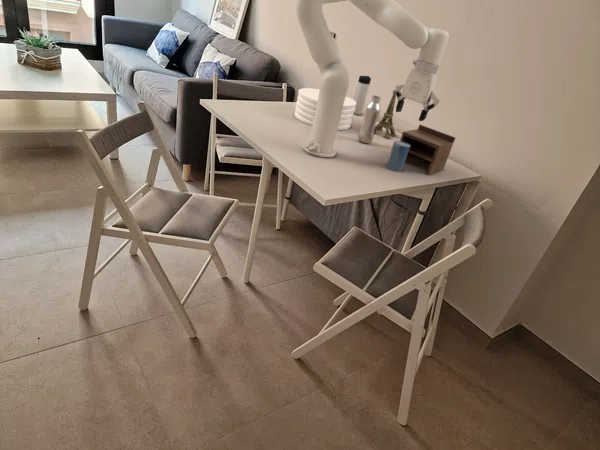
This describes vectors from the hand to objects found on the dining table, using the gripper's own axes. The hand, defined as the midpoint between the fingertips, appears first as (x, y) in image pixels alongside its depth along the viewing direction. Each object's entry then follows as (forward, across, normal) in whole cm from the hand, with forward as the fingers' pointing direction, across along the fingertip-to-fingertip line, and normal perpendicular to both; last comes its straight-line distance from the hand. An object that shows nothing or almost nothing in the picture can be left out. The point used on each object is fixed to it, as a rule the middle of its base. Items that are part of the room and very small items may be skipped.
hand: (409, 116), depth 153 cm
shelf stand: (+20, +4, +16) cm, 26 cm away
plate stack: (+21, -52, +21) cm, 60 cm away
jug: (+20, +1, +1) cm, 20 cm away
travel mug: (+21, -55, +55) cm, 81 cm away
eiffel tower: (+21, -27, +38) cm, 51 cm away
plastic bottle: (+21, -23, +15) cm, 35 cm away
